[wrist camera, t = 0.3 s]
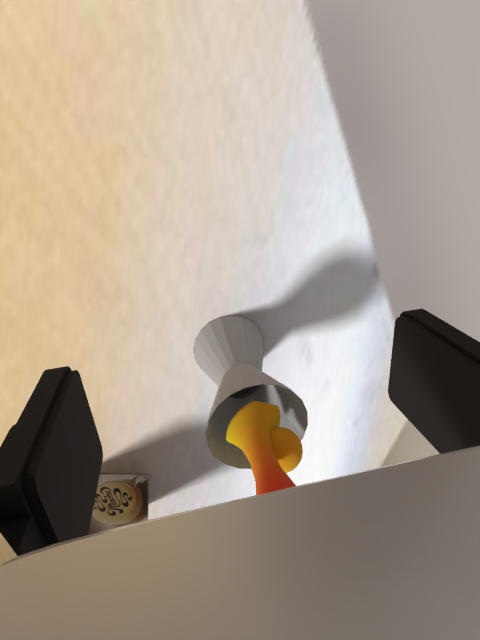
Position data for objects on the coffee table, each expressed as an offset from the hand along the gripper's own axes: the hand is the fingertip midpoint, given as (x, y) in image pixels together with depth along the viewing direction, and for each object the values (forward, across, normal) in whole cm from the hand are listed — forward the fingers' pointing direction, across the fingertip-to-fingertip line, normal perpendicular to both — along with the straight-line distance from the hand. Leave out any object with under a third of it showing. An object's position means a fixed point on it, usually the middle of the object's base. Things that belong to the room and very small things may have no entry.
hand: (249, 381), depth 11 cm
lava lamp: (+31, -3, +16) cm, 35 cm away
